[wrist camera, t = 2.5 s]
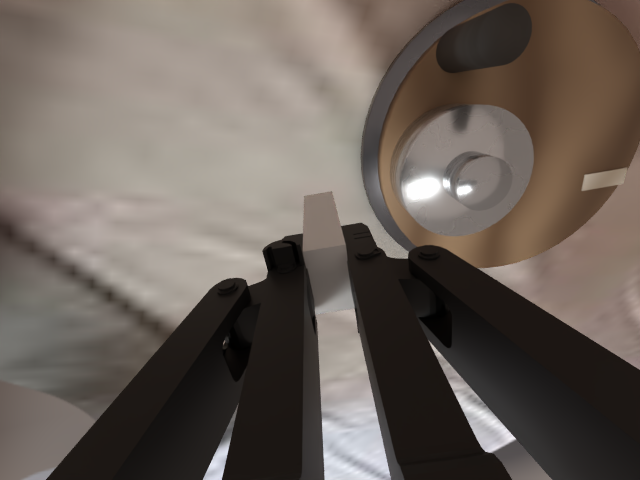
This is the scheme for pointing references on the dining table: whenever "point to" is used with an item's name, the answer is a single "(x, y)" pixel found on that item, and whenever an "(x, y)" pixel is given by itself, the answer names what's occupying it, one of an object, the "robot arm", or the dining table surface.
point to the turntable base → (385, 92)
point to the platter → (531, 116)
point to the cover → (461, 167)
